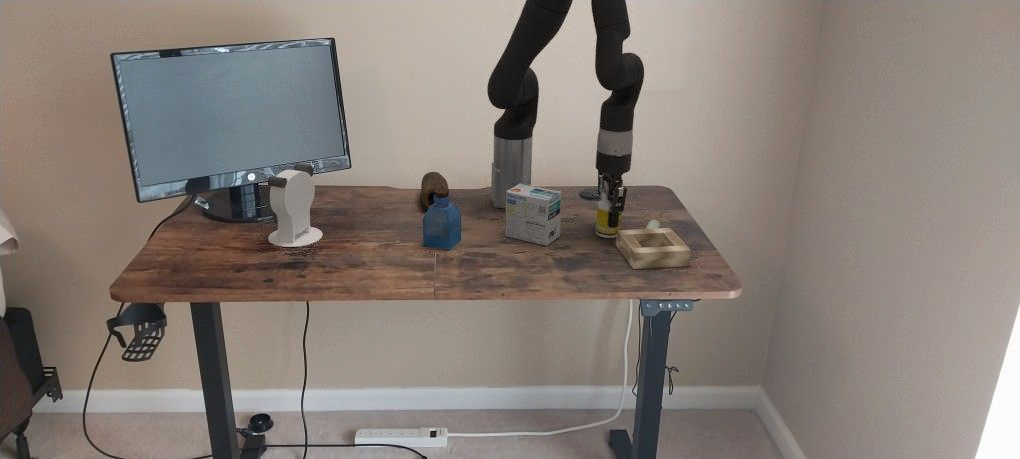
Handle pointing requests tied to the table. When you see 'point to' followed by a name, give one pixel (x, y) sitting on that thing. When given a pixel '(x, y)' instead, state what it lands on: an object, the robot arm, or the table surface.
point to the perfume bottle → (442, 222)
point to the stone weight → (431, 187)
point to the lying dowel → (653, 224)
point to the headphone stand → (293, 207)
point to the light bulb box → (533, 214)
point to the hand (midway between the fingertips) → (608, 221)
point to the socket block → (653, 248)
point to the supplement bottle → (605, 219)
